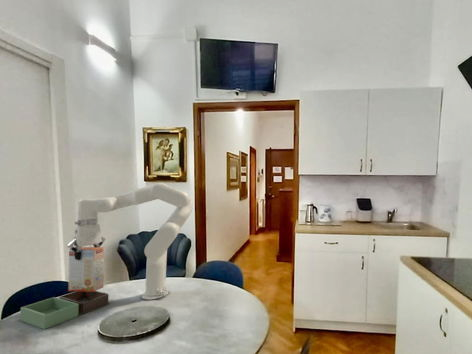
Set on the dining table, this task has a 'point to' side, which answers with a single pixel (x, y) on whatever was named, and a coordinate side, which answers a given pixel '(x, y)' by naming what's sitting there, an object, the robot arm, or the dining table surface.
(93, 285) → the cracker box
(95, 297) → the crate
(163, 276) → the robot arm
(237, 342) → the dining table surface
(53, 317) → the bin
